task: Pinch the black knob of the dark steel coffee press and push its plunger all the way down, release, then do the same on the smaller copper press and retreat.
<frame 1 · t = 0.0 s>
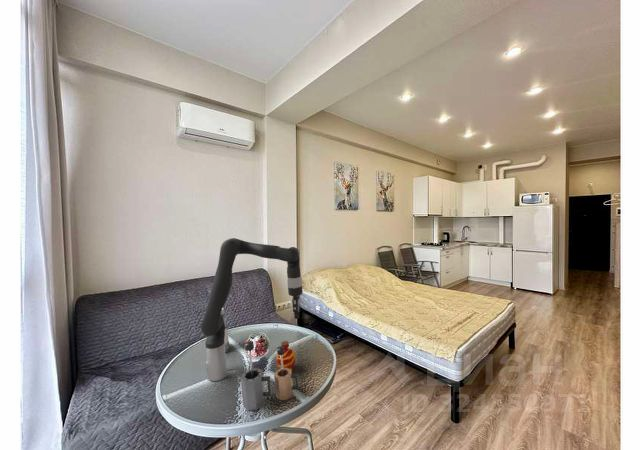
hand: (297, 315, 135), 29 cm above the table, fingers open, 8 cm apart
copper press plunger: (282, 363, 118), point 14 cm above the table, slide at 0.0 cm
copper press carafe: (284, 393, 119), on the table
steel press plunger: (250, 363, 114), point 18 cm above the table, slide at 0.0 cm
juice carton: (222, 351, 162), on the table
steel press carafe: (254, 402, 115), on the table
potion bottle: (287, 370, 137), on the table
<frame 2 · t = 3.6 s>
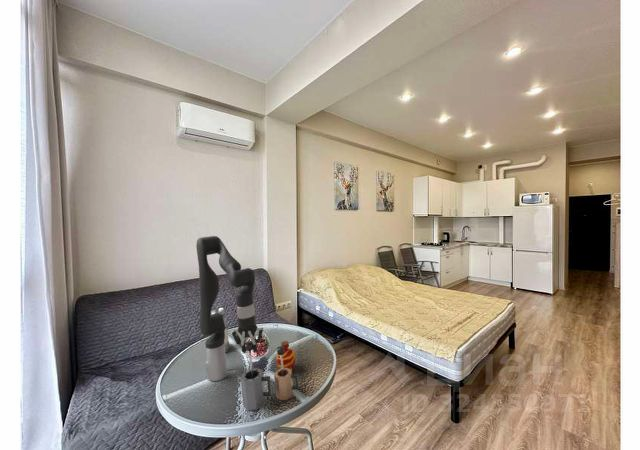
hand: (249, 351, 113), 23 cm above the table, fingers closed on steel press plunger, 3 cm apart
steel press plunger: (250, 363, 114), point 18 cm above the table, slide at 0.0 cm, touching gripper
everything else where it was.
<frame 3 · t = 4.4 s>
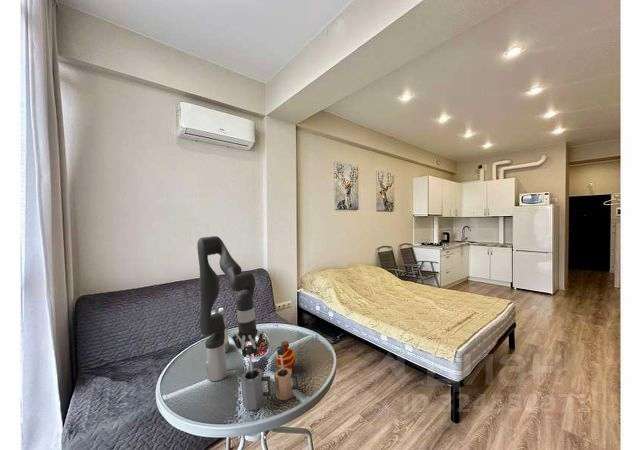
hand: (250, 355, 113), 22 cm above the table, fingers closed on steel press plunger, 3 cm apart
steel press plunger: (251, 367, 114), point 16 cm above the table, slide at 1.9 cm, touching gripper
everything else where it was.
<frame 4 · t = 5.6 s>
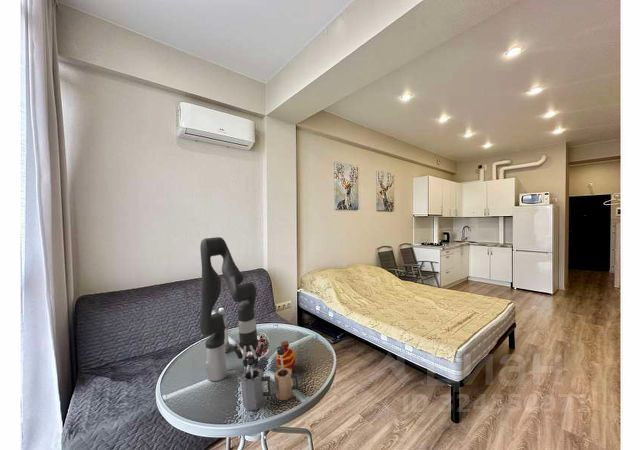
hand: (251, 366, 114), 17 cm above the table, fingers closed on steel press plunger, 3 cm apart
steel press plunger: (252, 377, 114), point 12 cm above the table, slide at 6.5 cm, touching gripper
everything else where it was.
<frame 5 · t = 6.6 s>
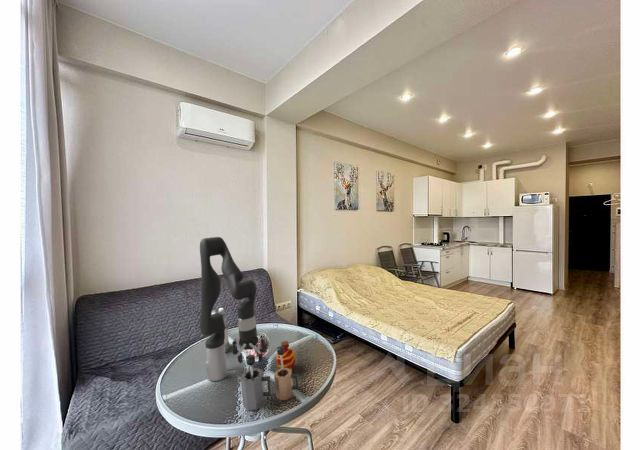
hand: (250, 361, 114), 19 cm above the table, fingers open, 8 cm apart
steel press plunger: (252, 377, 114), point 12 cm above the table, slide at 6.5 cm
everything else where it was.
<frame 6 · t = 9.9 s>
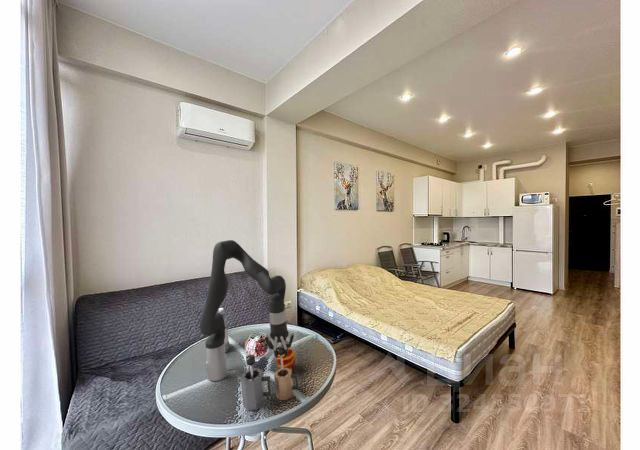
hand: (281, 356, 118), 18 cm above the table, fingers closed on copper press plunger, 3 cm apart
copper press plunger: (282, 363, 118), point 14 cm above the table, slide at 0.0 cm, touching gripper
everything else where it was.
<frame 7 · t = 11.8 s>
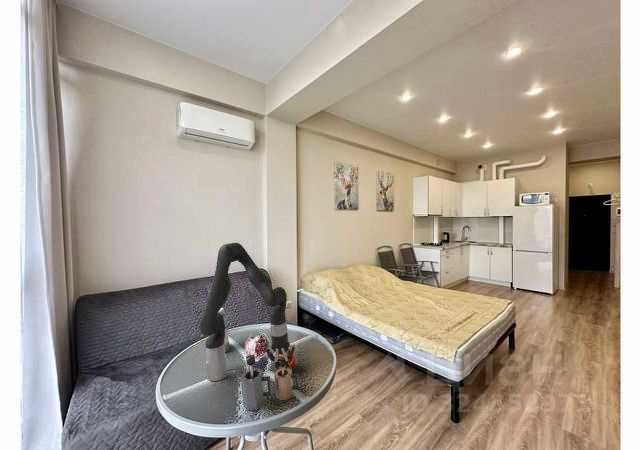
hand: (282, 367, 118), 12 cm above the table, fingers closed on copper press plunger, 3 cm apart
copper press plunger: (283, 375, 118), point 9 cm above the table, slide at 5.5 cm, touching gripper
everything else where it was.
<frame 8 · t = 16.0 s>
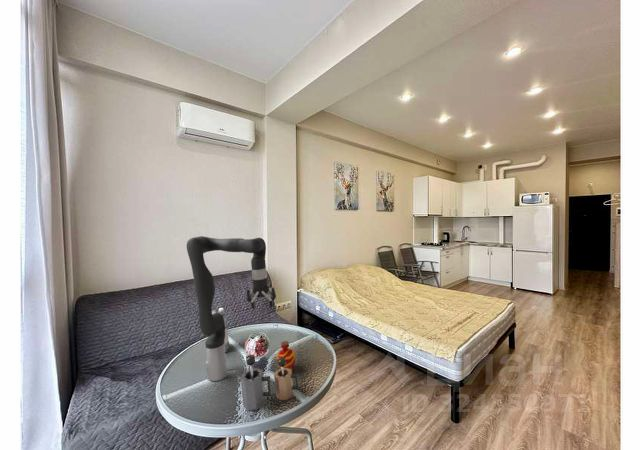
hand: (262, 308, 131), 36 cm above the table, fingers open, 8 cm apart
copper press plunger: (283, 375, 118), point 9 cm above the table, slide at 5.5 cm
everything else where it was.
at the end: steel press plunger slide at 6.5 cm; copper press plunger slide at 5.5 cm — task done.
